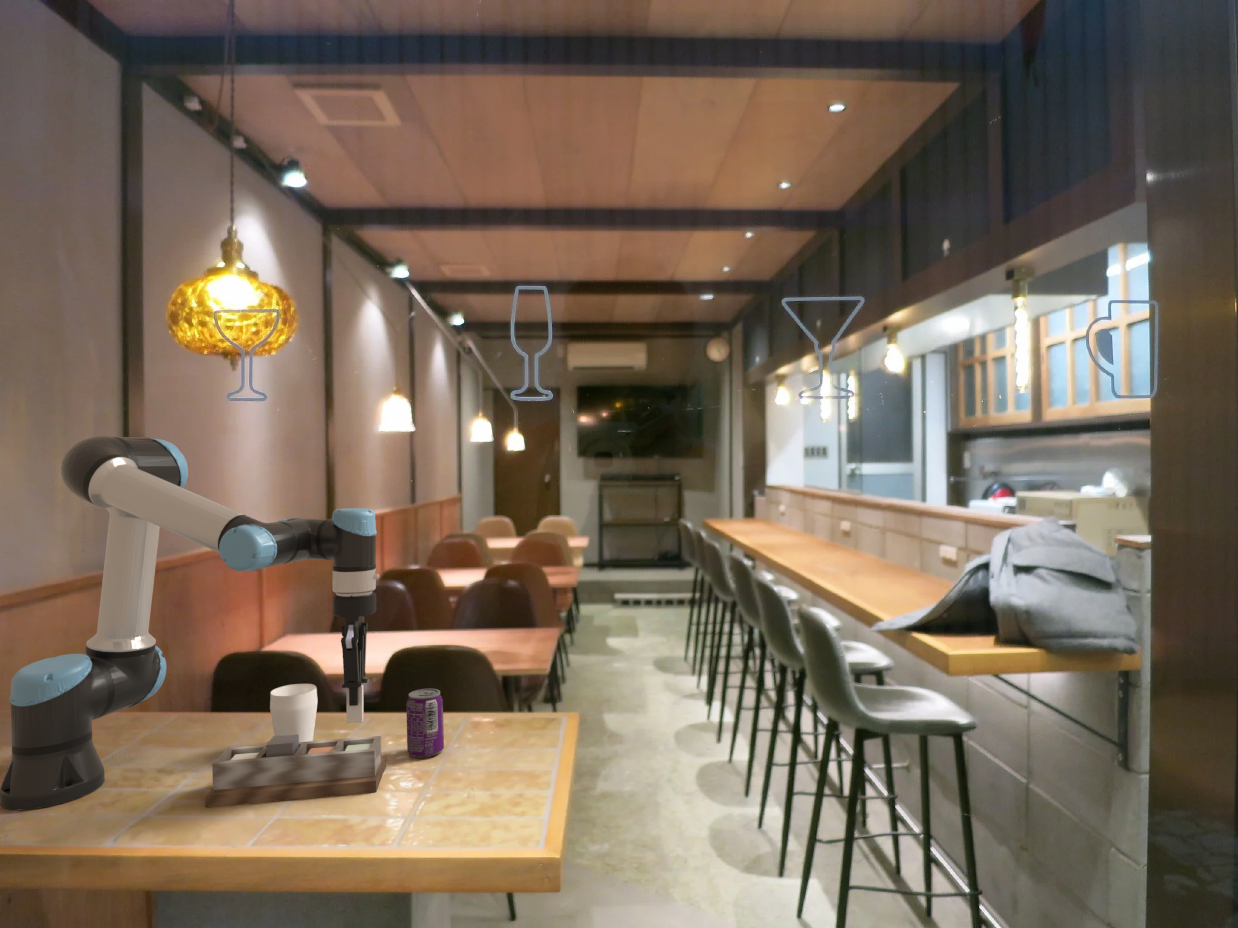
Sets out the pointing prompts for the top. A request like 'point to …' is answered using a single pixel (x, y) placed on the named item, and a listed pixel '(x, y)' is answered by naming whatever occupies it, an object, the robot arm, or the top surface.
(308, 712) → the cup
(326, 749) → the key terracotta
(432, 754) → the beverage can
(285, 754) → the key charcoal
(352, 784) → the slotted block tray
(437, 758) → the top surface
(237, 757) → the key ivory
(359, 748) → the key sage
